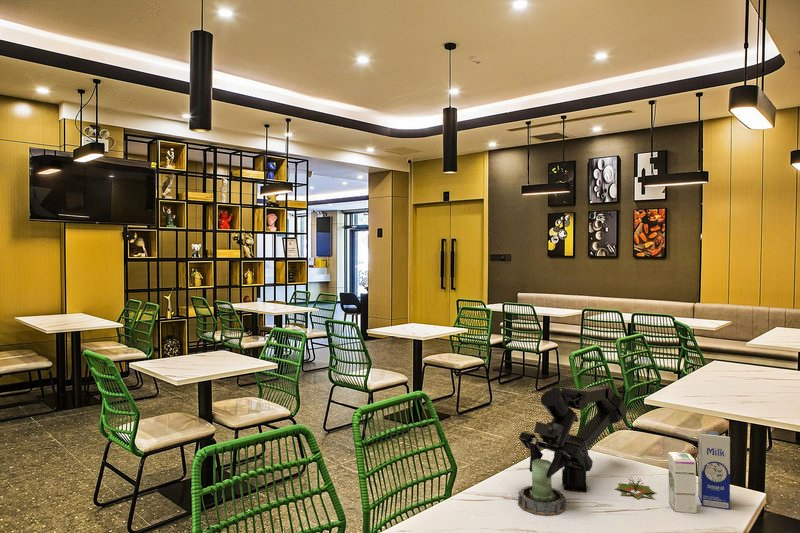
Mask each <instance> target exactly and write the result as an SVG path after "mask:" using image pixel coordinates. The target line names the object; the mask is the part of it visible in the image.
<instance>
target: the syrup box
mask: <svg viewBox="0 0 800 533" xmlns="http://www.w3.org/2000/svg"><path fill="white" fill-rule="evenodd" d="M667 460H668V502H669V504H670V506H671V508H672V510H674V512H677V513H686V514H687V513H688V514H697V511H698V509H697V497H698V496H697V466H696V464H697V463H696V460H695V458H694V457H693V456H692V455H691V454H690V453H688V452H681V451H671V452H670V451H669V452H668V459H667Z"/></svg>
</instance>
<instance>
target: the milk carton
mask: <svg viewBox="0 0 800 533" xmlns="http://www.w3.org/2000/svg"><path fill="white" fill-rule="evenodd" d="M697 437H698V438H697V439H698V440H697V442H698V443H697V446H698V448H697V449H698V452H697V456H698V458H697V462H698V463H697V464H698V466H697V467H698V469H697V471H698V474H697V478H698V483H697V484H698V486H697V487H698V490H697V491H698V494H697V497H698V499H699V501H700V503H701V506H702V507H707V508H715V509H723V510H731V437H730V436H724V435H719V431H714V430H706V434H704V433H697Z"/></svg>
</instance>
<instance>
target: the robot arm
mask: <svg viewBox="0 0 800 533" xmlns="http://www.w3.org/2000/svg"><path fill="white" fill-rule="evenodd" d="M540 403H541V404H542V406H543V407H544V408H545V410H546V411H547V413H548V414H549V416H551V417H552V419H551V421H548V422H546V423H544V422H540V421H536V423H535V426H534V430H533V433H532V432H528V431H522V432H521V433H520V434H519V436H518V440H519V441H520V442H521V444H522V445H523V446H524V448H526V449H527V450H529V451H530V452H529V453H530V457H529V458H530V459H529V470H528V471H529V472H530V473H532V461H533V460H536V459H543V456H544V453H542V451H541V450H542V449H544V450H548V451H551V452H553V453H554V454H553V459H552V461H551V465H550V467H549V469H548V472H547V475H546V477H547V478H550V477H551V478H552V476H553V475H555V474H556V473H557V472H558V471H560V470H561V484H562V486H563V489H564V490H566V491H576V492H584V493H587V492H588V491H587V490H588V488H587V487H588V486H587V472H591V469H592V468H593V462H594V461H593V459H592V458H591V457H590V455H589V448H590V447H591V446H592V445H593V444H594V443H595V442H596V441H597V439H598V438H599V437H600V436H602V434H603V433H604V432H605V430H607V428H608V427H609V426H610V425H613V424H618V423H619V422H621V421H623V419H625V417H626V416H627V412H628V408H627V406H626V404H625V402H624V400H623V399H622V398H621V397H620V396H619V395H618V394H616V392H615V391H614V389H613V388H611V387H609V386H605V385H600V384H598V385H595V386H590V387H586V388H580V389H577V388H571V387H565V386H564V387H563V388H561V389H560V388H559V387H557V386H556V387H555V386H552V388H551V389H550V390H547V391H545V392H544V393H543V394H541V396H540ZM590 403H591V404H592V403H594V405H595V407H596V413H595V415H594V416H593V417H591V419H590V420H589V421H588V422H587V423H586V424H585V425H584V426H583V427H582V428H581V429H580V431H578V433H576V435H574V434H570V431H571V430H572V428H573V425H574V422H575V423H579V417H578V416H577V412H576V411H574V410H579V411H583V410H584V409H586V408H588V406H589V404H590ZM535 434H538V435H539V438H540V439H538V437H536V435H535ZM541 439H542V440H541Z"/></svg>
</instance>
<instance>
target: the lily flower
mask: <svg viewBox="0 0 800 533" xmlns="http://www.w3.org/2000/svg"><path fill="white" fill-rule="evenodd" d="M630 477H631V478H630ZM630 477H628V476H627V477H626V478H627V479H628V480H629V481H628V482H627V483H623V482H622V483H620V482H617V484H618V485H619V486H617V487H616V488H615V490H622V491H621V494H620V496H622V497H623V496H633V497H635V498H636V499H637V500H638V501H639V500H640V499H641V498H642V497H643V498H647V499H648V498H649V499H652V500H655V498H654V496H653V494H656V492H655V491H654V490H652V489H651V488H650V485H644V484H645V483H644V482H642V478H640V476H639V477H637V480H635V479H634V478H633V477H632V476H630ZM639 478H640V479H639ZM640 482H642V483H640ZM637 491H638V493H637ZM629 493H630V494H629ZM652 493H653V494H652ZM645 495H646V496H645Z"/></svg>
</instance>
